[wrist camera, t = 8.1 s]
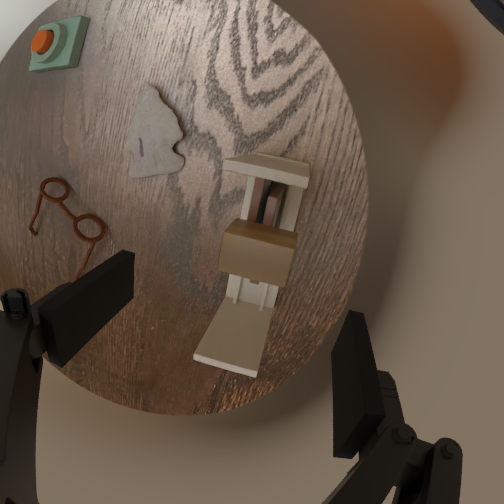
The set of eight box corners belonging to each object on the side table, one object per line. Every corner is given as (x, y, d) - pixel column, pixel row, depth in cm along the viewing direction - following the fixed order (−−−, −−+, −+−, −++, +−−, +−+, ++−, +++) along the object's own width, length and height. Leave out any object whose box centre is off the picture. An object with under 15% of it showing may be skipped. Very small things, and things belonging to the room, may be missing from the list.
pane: (259, 177, 32) (229, 198, 20) (306, 189, 31) (304, 216, 20) (245, 244, 35) (212, 297, 23) (289, 255, 34) (277, 315, 22)
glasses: (112, 230, 40) (91, 241, 36) (80, 286, 45) (62, 299, 40) (59, 173, 39) (36, 178, 34) (34, 233, 44) (14, 242, 39)
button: (42, 33, 28) (34, 31, 26) (56, 29, 28) (49, 27, 26) (36, 54, 29) (28, 53, 28) (50, 51, 29) (42, 50, 27)
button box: (48, 28, 31) (32, 24, 27) (90, 18, 30) (73, 12, 26) (37, 72, 34) (20, 70, 30) (77, 66, 33) (59, 63, 29)
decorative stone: (135, 176, 38) (125, 182, 35) (121, 90, 33) (108, 90, 30) (194, 167, 37) (186, 173, 34) (180, 74, 31) (171, 72, 29)
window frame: (257, 151, 34) (224, 155, 21) (309, 163, 33) (310, 174, 20) (228, 294, 40) (193, 361, 27) (273, 306, 40) (255, 379, 27)
